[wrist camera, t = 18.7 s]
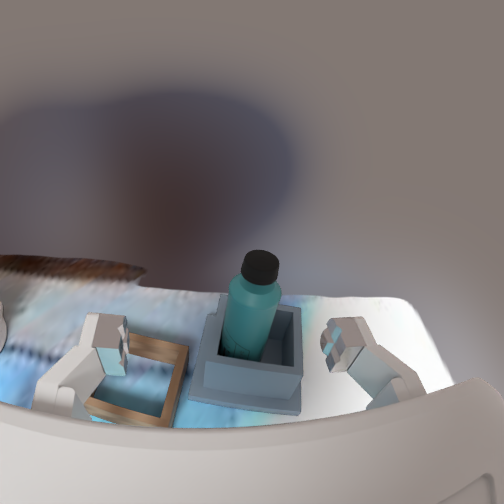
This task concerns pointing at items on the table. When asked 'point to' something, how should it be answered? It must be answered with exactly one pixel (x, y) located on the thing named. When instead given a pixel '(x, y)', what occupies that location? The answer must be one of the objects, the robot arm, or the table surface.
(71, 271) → the table surface
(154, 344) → the walnut sleeve
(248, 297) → the beverage bottle
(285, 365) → the bottle holder
